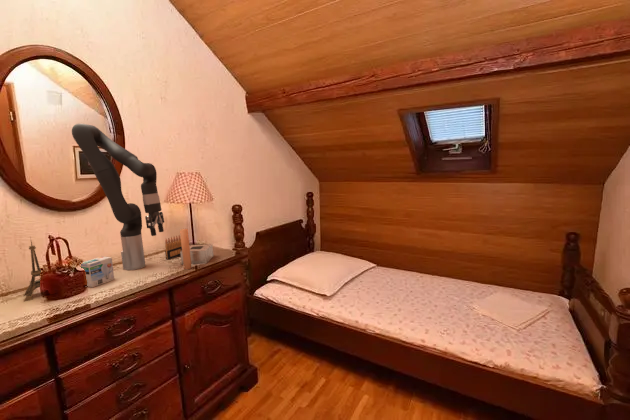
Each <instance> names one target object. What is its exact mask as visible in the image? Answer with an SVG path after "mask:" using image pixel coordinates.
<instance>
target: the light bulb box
mask: <svg viewBox="0 0 630 420" xmlns="http://www.w3.org/2000/svg"><path fill="white" fill-rule="evenodd" d="M82 262H83V263H82V264H81V266H80V265H79V268H80V267H81V268H83V269H84V270H85V272H86V279H87V286H88V288H95V287H97V286H100V285H102V284H103V285H104V284H105V283H108V282H111V281H113V280H115V273H114V265H113V264H114V263H113V257H110V256H102V255H101V256H99V257H95V258H92V259H89V260H85V261H82ZM87 286H86V287H87Z"/></svg>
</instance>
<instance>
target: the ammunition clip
mask: <svg viewBox="0 0 630 420" xmlns="http://www.w3.org/2000/svg"><path fill="white" fill-rule="evenodd" d="M164 244H165V251H164V253H165V260H171V259H175V258H178V257H181V254H180V252H181V251H182V245H181V236H180V234H179V235H175V236H173V237H172V236H171V237H168V239H167V238H165V243H164Z"/></svg>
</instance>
